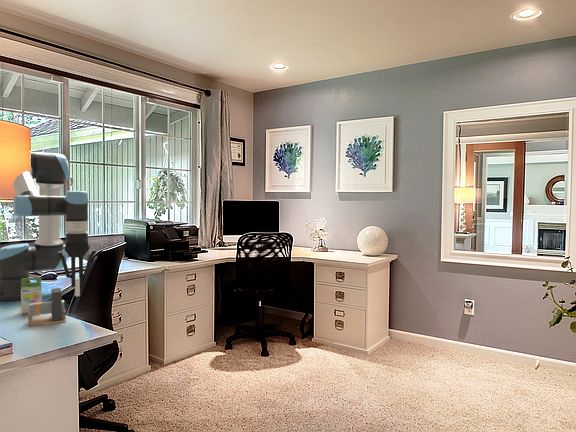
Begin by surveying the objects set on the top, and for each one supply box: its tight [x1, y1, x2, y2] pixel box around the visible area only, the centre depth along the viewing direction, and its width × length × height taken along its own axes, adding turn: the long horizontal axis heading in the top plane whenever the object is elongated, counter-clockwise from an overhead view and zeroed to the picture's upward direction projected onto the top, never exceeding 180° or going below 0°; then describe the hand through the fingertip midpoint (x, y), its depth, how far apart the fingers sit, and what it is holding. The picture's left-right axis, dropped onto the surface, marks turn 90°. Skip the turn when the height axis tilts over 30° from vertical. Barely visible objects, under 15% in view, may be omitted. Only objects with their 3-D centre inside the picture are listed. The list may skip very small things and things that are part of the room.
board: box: [27, 308, 67, 327], centre depth 157 cm, size 8×12×3 cm
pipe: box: [28, 299, 66, 317], centre depth 157 cm, size 4×11×4 cm, turn 120°
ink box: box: [20, 276, 43, 315], centre depth 168 cm, size 7×4×13 cm, turn 120°
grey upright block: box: [50, 287, 63, 321], centre depth 158 cm, size 8×3×10 cm, turn 30°
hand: (77, 295), depth 161 cm, fingers closed
